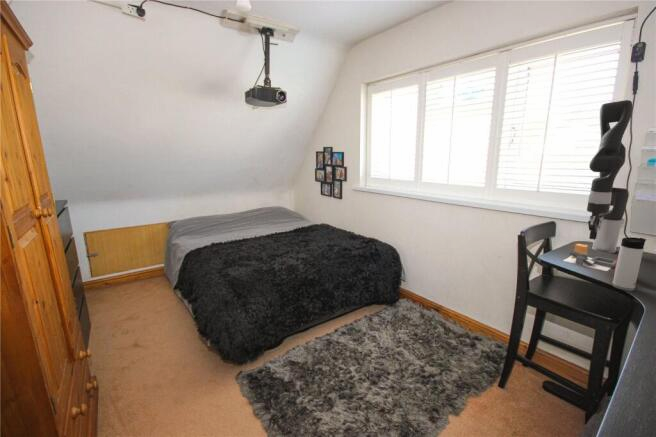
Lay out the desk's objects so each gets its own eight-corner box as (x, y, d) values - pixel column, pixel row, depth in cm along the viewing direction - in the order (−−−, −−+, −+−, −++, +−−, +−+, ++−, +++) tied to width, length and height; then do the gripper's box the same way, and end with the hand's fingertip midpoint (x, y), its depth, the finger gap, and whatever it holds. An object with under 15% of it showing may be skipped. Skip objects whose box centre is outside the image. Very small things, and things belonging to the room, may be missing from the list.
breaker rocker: (572, 252, 147) (574, 250, 146) (593, 264, 141) (595, 261, 140) (569, 254, 145) (570, 252, 144) (590, 266, 139) (592, 263, 138)
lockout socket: (595, 259, 147) (596, 256, 147) (617, 264, 141) (618, 260, 141) (590, 262, 143) (590, 259, 143) (612, 268, 137) (613, 264, 136)
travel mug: (639, 291, 117) (651, 241, 112) (619, 290, 118) (630, 240, 114) (627, 284, 123) (638, 236, 118) (608, 283, 124) (618, 235, 120)
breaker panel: (573, 256, 155) (574, 253, 154) (616, 265, 142) (616, 262, 142) (562, 263, 146) (563, 259, 146) (606, 273, 134) (607, 269, 133)
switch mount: (580, 260, 146) (581, 253, 145) (586, 261, 144) (587, 255, 143) (575, 263, 142) (576, 256, 142) (581, 264, 140) (583, 257, 140)
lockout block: (576, 255, 153) (578, 243, 152) (586, 257, 150) (588, 245, 149) (573, 256, 151) (575, 245, 149) (583, 259, 148) (585, 247, 146)
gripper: (592, 198, 144) (586, 234, 148) (583, 202, 137) (577, 240, 140) (614, 200, 138) (607, 237, 142) (606, 204, 131) (599, 243, 135)
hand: (592, 238), depth 141 cm, fingers closed
